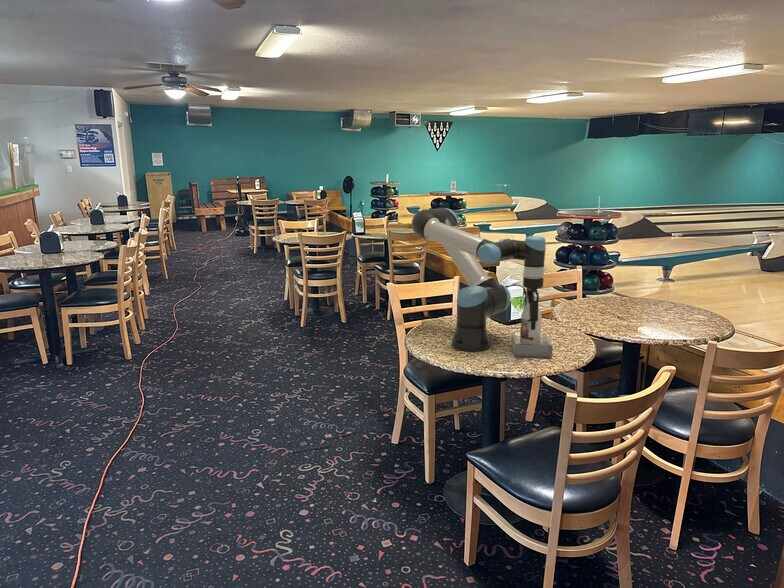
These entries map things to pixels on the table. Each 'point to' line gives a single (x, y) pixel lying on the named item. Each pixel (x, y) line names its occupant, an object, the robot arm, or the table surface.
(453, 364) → the table surface
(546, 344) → the coupler bracket
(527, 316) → the milk bottle
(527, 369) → the table surface
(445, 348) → the table surface
